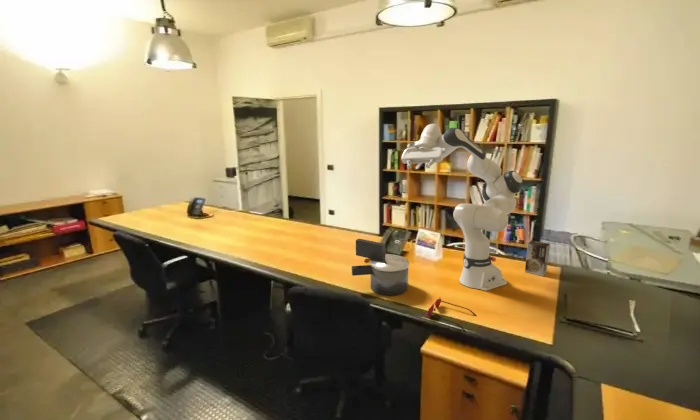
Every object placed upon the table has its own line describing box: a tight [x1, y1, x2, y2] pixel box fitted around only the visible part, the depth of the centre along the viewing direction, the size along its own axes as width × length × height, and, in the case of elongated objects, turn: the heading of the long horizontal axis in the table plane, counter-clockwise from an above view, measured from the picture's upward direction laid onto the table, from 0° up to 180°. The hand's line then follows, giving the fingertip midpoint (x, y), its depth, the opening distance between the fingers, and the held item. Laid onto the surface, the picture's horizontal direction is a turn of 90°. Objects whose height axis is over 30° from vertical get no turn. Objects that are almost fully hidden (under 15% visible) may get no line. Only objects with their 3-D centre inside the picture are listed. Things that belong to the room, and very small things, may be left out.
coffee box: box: [524, 239, 551, 277], centre depth 179 cm, size 9×6×16 cm
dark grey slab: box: [355, 238, 410, 272], centre depth 166 cm, size 27×19×9 cm
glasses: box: [425, 297, 477, 333], centre depth 140 cm, size 14×16×5 cm
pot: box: [351, 264, 409, 297], centre depth 165 cm, size 27×18×12 cm, turn 96°
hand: (418, 167), depth 164 cm, fingers open, 8 cm apart
